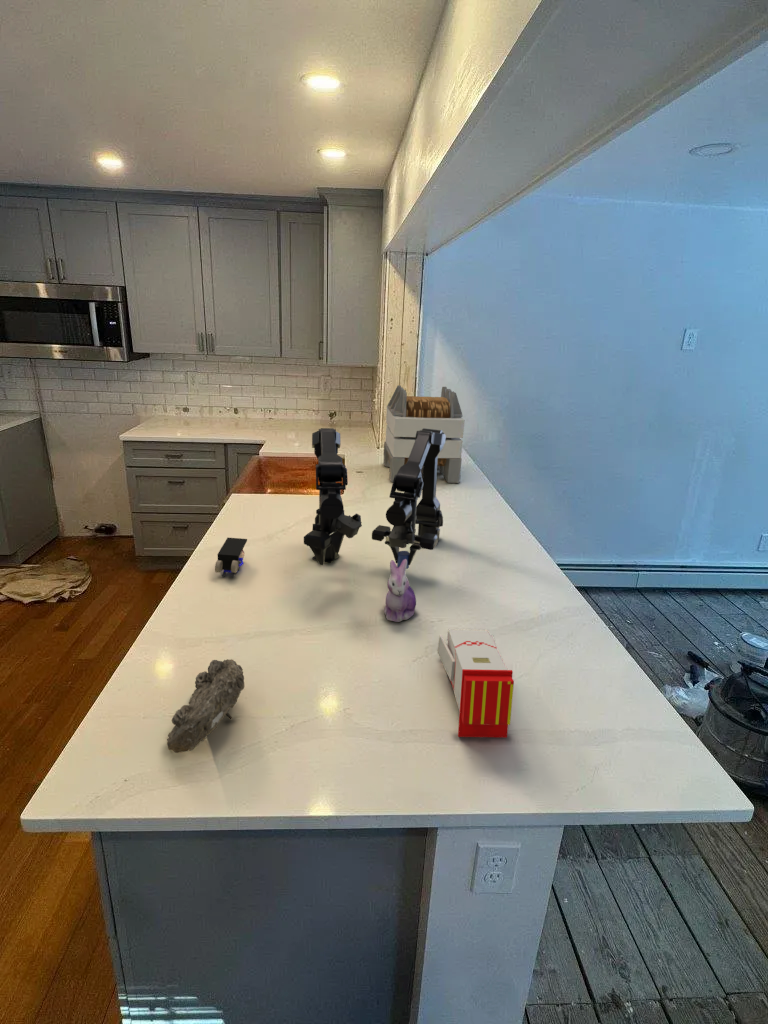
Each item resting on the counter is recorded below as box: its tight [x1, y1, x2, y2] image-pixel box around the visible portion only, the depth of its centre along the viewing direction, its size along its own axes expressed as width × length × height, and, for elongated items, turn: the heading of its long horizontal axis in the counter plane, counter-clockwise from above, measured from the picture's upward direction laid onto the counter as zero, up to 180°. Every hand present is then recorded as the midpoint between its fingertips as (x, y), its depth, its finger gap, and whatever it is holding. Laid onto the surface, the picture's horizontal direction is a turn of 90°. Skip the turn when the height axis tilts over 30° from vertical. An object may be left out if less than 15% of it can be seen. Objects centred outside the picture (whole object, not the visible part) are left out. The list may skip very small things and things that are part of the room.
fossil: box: [166, 658, 245, 754], centre depth 106 cm, size 22×10×15 cm
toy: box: [437, 628, 515, 738], centre depth 117 cm, size 12×13×30 cm
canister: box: [396, 550, 410, 570], centre depth 168 cm, size 4×4×4 cm
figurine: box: [384, 559, 417, 623], centre depth 145 cm, size 9×10×15 cm
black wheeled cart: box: [214, 537, 248, 578], centre depth 166 cm, size 7×8×15 cm
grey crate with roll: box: [383, 384, 465, 484], centre depth 268 cm, size 34×33×41 cm
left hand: (329, 558), depth 157 cm, fingers open, 9 cm apart
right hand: (403, 563), depth 168 cm, fingers closed on canister, 3 cm apart
